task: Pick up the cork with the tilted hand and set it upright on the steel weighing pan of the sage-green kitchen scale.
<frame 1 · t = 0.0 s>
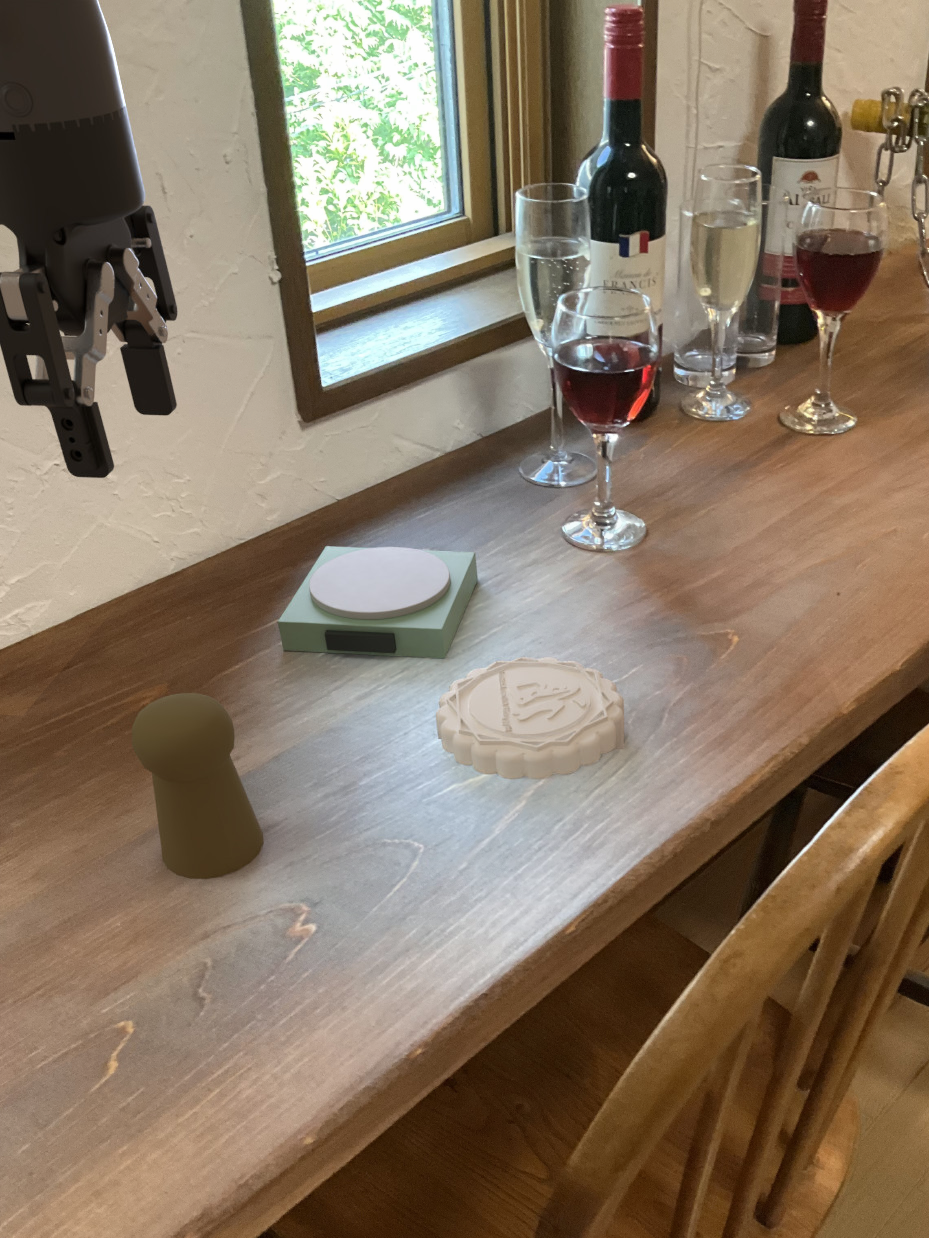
hand: (126, 442, 69), 21 cm above the table, tool pointing down, fingers open, 8 cm apart
cork: (219, 870, 73), on the table
mooncake: (532, 746, 83), on the table
scale: (384, 613, 96), on the table
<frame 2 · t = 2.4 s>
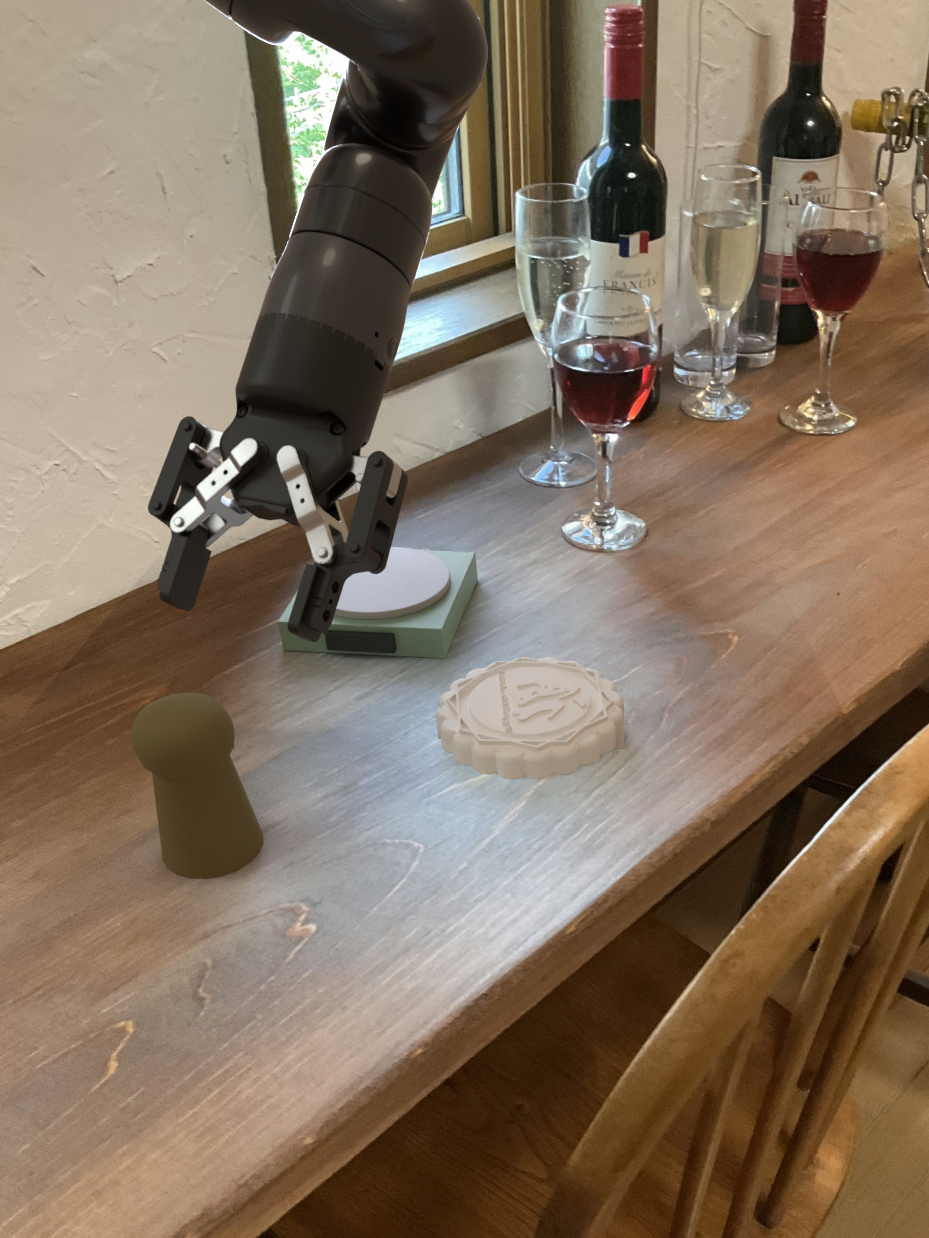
hand: (237, 621, 69), 13 cm above the table, tool tilted 45°, fingers open, 8 cm apart
nothing on the table moved.
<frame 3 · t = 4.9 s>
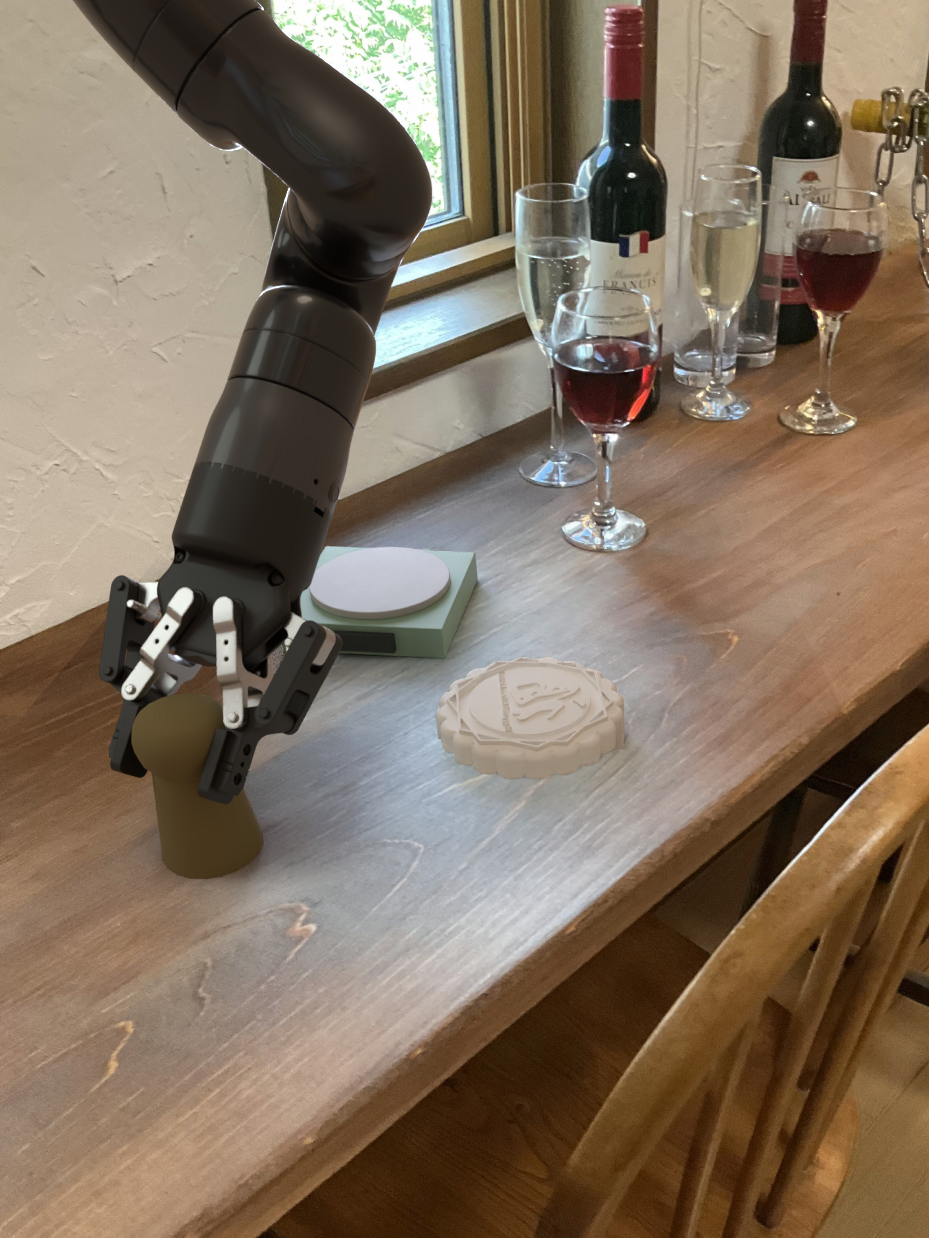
hand: (170, 786, 68), 7 cm above the table, tool tilted 45°, fingers closed on cork, 5 cm apart
cork: (219, 870, 73), on the table, touching gripper
everything else where it was.
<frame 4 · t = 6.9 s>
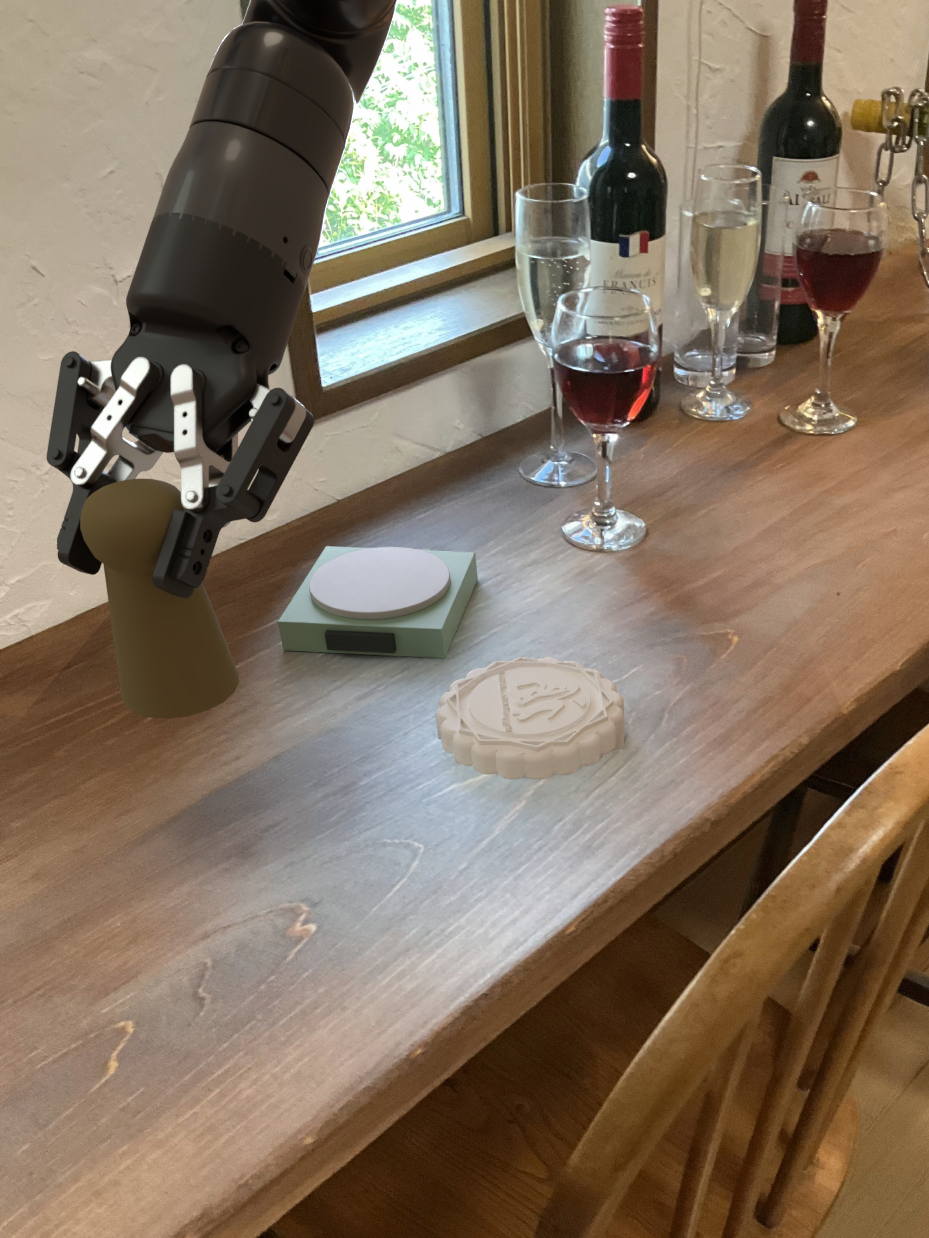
hand: (123, 579, 61), 19 cm above the table, tool tilted 45°, fingers closed on cork, 5 cm apart
cork: (181, 689, 67), point 11 cm above the table, touching gripper
everything else where it was.
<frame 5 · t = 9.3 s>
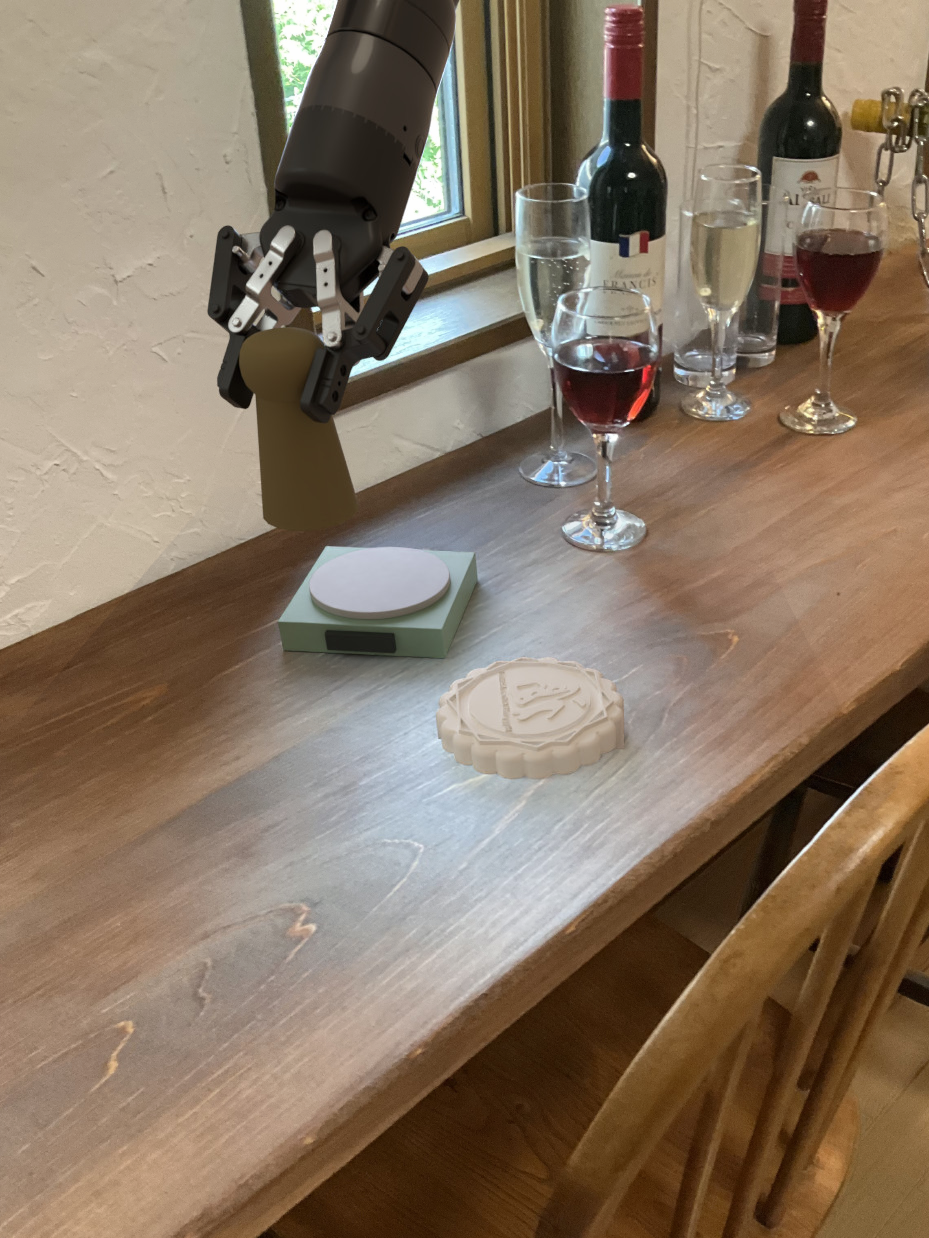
hand: (273, 408, 75), 20 cm above the table, tool tilted 45°, fingers closed on cork, 5 cm apart
cork: (311, 512, 81), point 13 cm above the table, touching gripper
everything else where it was.
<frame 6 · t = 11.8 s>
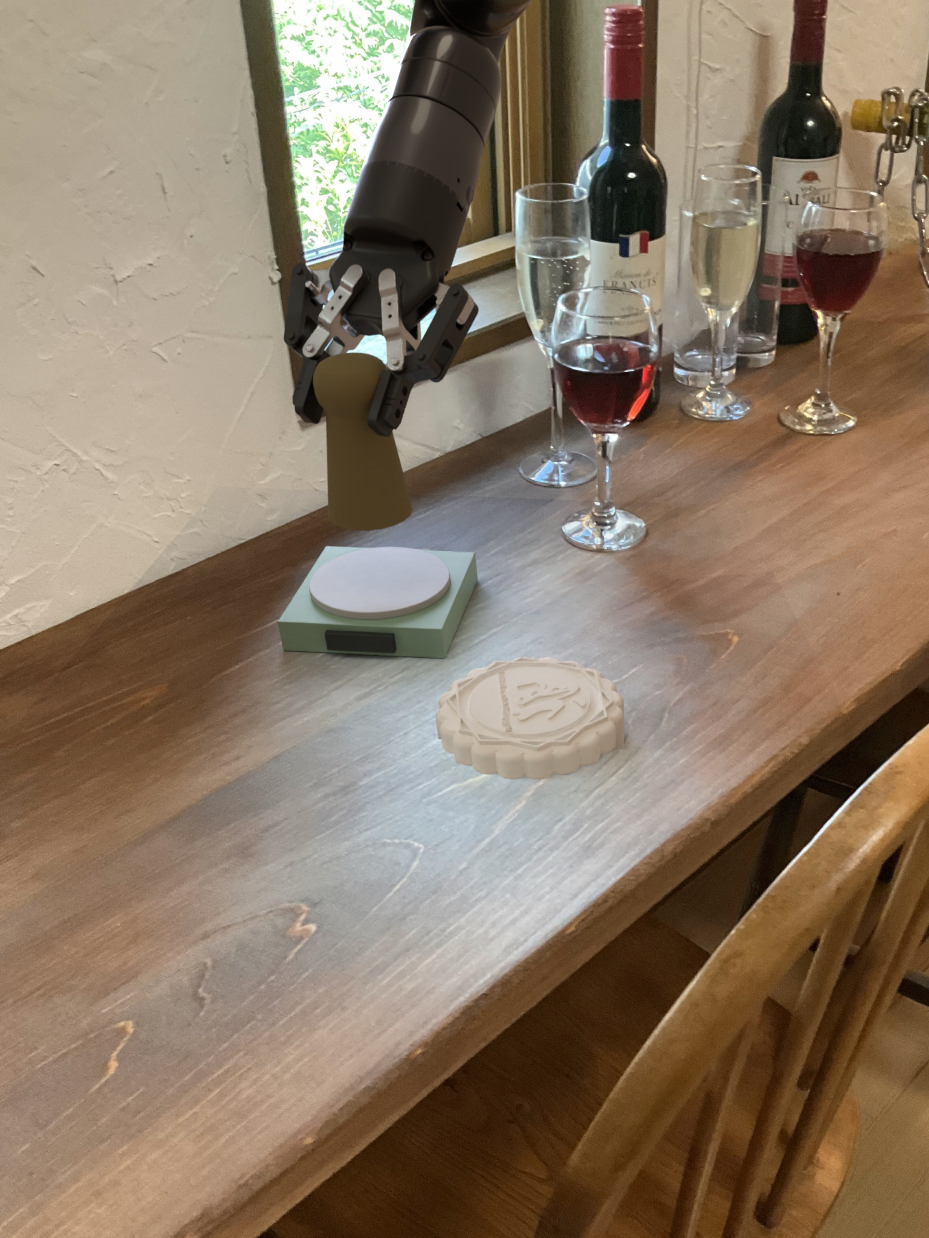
hand: (342, 424, 86), 15 cm above the table, tool tilted 45°, fingers closed on cork, 5 cm apart
cork: (371, 514, 92), point 8 cm above the table, touching gripper
everything else where it was.
when the fingers open (10 cm above the table, at t = 13.7 s): cork stays where it is, resting on scale.
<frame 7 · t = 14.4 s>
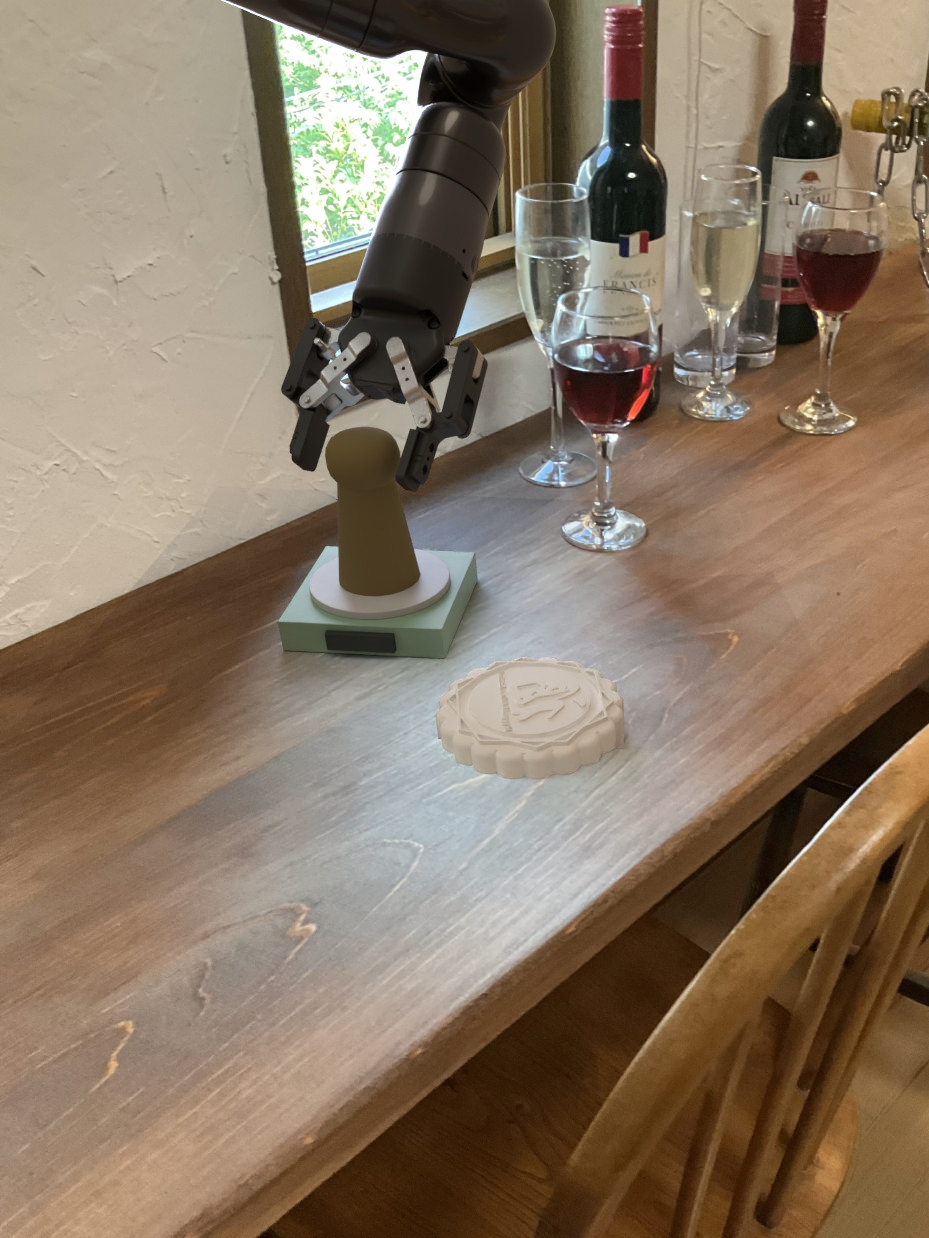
hand: (353, 476, 88), 11 cm above the table, tool tilted 45°, fingers open, 8 cm apart
cork: (380, 579, 95), point 3 cm above the table, touching scale
everything else where it was.
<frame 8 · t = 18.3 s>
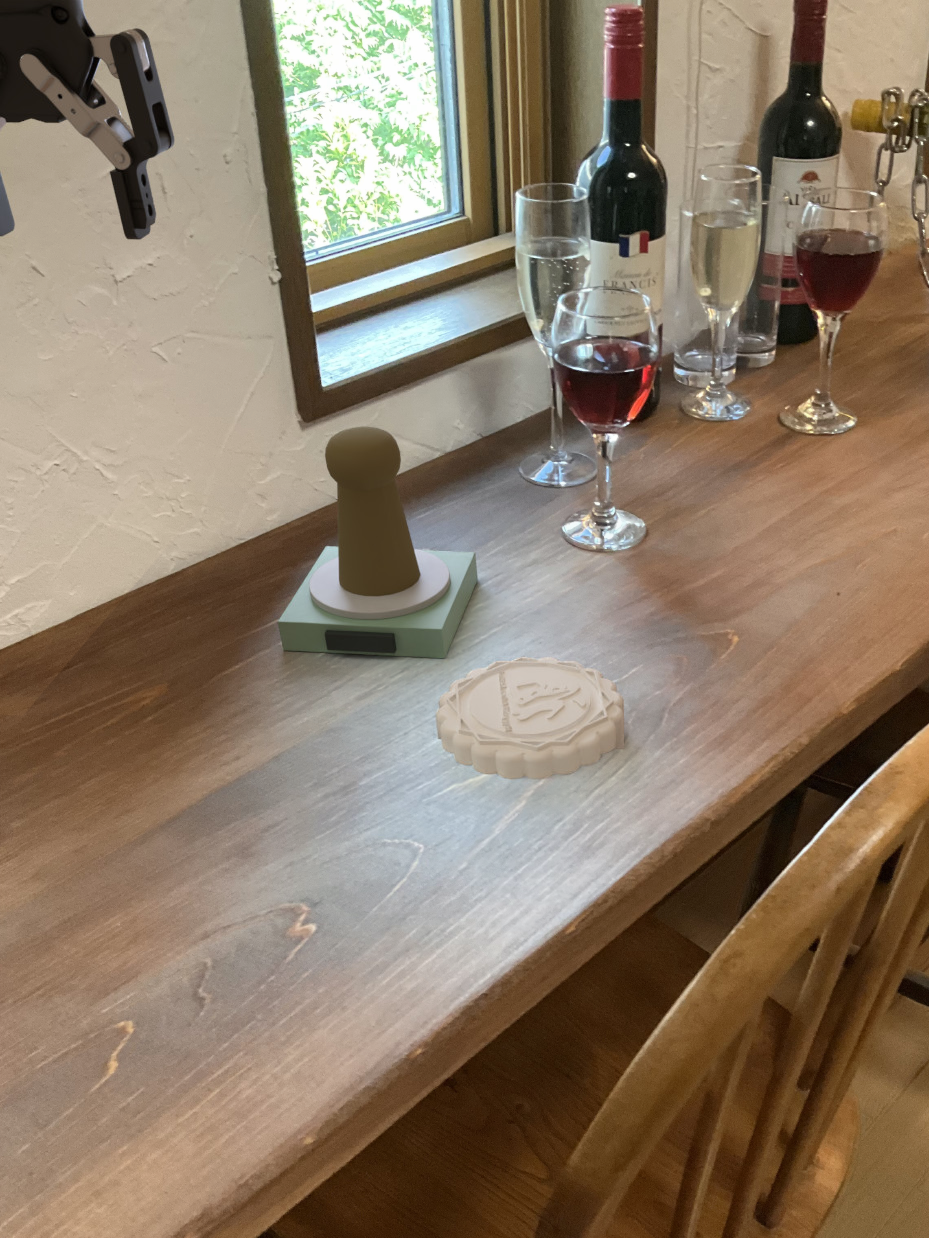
hand: (70, 235, 76), 28 cm above the table, tool pointing down, fingers open, 8 cm apart
nothing on the table moved.
at the end: cork inside the target area on the scale (0.2 cm from its centre), point 2.8 cm above the scale's base; cork tilted 0°; the gripper is holding nothing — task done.
